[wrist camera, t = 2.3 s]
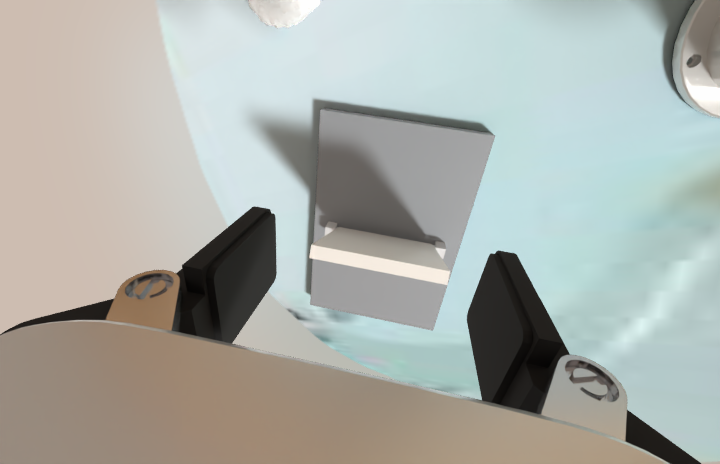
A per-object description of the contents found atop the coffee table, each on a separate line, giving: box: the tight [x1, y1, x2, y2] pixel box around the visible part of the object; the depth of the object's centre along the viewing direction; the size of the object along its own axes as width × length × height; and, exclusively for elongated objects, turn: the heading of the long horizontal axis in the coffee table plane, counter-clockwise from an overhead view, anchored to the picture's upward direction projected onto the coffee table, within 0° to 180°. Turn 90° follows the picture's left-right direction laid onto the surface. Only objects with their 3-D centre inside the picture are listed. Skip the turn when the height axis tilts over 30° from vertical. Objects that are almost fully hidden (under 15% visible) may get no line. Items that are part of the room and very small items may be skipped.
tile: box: [309, 227, 450, 285], centre depth 27 cm, size 11×10×1 cm
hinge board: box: [310, 108, 495, 330], centre depth 34 cm, size 24×16×3 cm, turn 173°
